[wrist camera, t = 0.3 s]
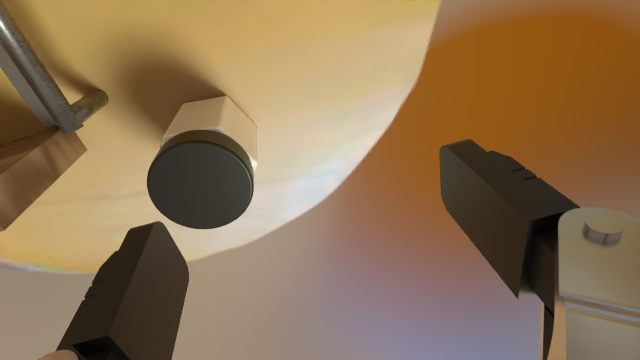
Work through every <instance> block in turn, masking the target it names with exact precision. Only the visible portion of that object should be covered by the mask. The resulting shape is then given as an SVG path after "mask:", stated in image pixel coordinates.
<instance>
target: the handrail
mask: <svg viewBox="0 0 640 360" xmlns="http://www.w3.org/2000/svg"><path fill="white" fill-rule="evenodd" d="M0 44H1V45H2V47H3V48H4V50H5V51H6V53H7V54H8V55H9V57H10V58H11V60H12V61H13V63H14V64H15V65H16V67H17V68H18V70H19V71H20V73H21V74H22V75H23V77H24V78H25V80H26V81H27V83H28V84H29V86H30V87H31V88H32V90H33V91H34V93H35V94H36V96H37V97H38V98H39V100H40V101H41V103H42V104H43V106H44V107H45V108H46V110H47V111H48V113H49V114H50V116H51V117H52V119H53V120H54V121H55V123H56V124H57V126H58V127H59V129H60V130H61V131H62V133H63V134H67V133H70V132H73V131H76V130H78V129H80V128H81V127H83V126H84V125H83V124H82V123H83V122H84V121H86V120H87V119H88V118H89V117H91V116H92V115H93V114H95V113H96V112H97V111H98V110H100V109H101V108H102V107H103V106H105V105H106V104H107V103H108V96H107V94H106V93H105V92H103V91H101V90H94V91H92V92H90V93H89V94H87V95H86V96H84V97H83V98H81V99H80V100H78V101H76V102H75V103H73V104H72V105H70V104H69V102H68V101H67V99H66V98H65V96H64V95H63V93H62V92H61V90H60V89H59V87H58V86H57V84H56V82H55V81H54V79H53V78H52V76H51V75H50V73H49V72H48V70H47V69H46V67H45V66H44V64H43V63H42V61H41V60H40V58H39V57H38V55H37V53H36V52H35V50H34V49H33V47H32V46H31V44H30V43H29V41H28V40H27V38H26V37H25V35H24V34H23V32H22V31H21V29H20V28H19V26H18V24H17V23H16V21H15V20H14V18H13V17H12V15H11V14H10V12H9V11H8V9H7V8H6V6H5V5H4V3H3V2H2V0H0Z"/></svg>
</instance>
